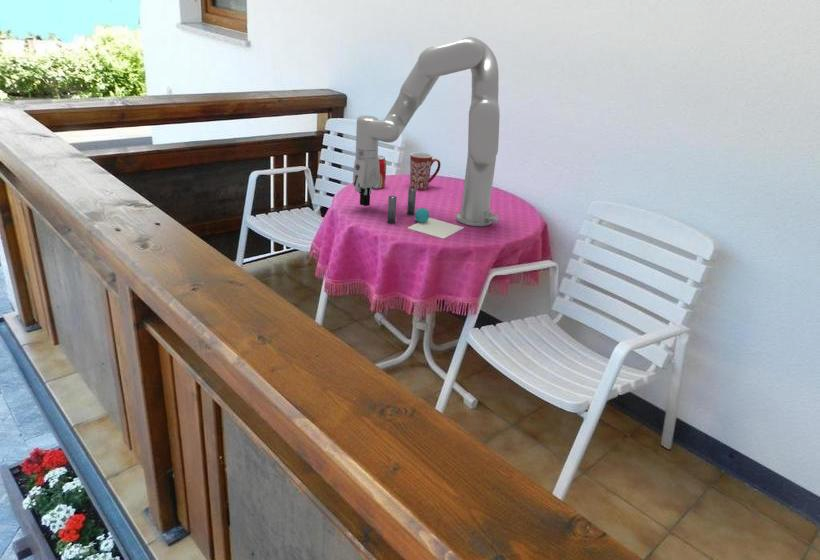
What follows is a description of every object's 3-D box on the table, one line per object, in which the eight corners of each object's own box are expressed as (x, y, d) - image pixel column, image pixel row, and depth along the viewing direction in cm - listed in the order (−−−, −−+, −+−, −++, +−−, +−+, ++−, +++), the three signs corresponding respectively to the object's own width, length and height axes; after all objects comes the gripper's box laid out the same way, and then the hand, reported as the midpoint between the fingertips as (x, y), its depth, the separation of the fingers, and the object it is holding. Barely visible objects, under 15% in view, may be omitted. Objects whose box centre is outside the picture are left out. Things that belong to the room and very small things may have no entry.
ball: (423, 203, 202) (416, 214, 205) (416, 206, 198) (409, 218, 201) (434, 212, 201) (427, 223, 204) (428, 216, 197) (420, 227, 200)
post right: (415, 214, 209) (417, 189, 205) (411, 215, 207) (413, 190, 203) (409, 212, 211) (411, 187, 207) (405, 214, 209) (407, 189, 205)
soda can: (384, 190, 233) (386, 160, 228) (366, 188, 233) (367, 158, 228) (385, 185, 239) (387, 155, 234) (368, 183, 239) (369, 154, 234)
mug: (410, 191, 234) (412, 157, 228) (405, 184, 242) (407, 151, 236) (441, 191, 237) (444, 157, 231) (435, 184, 245) (438, 152, 239)
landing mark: (464, 227, 200) (464, 227, 200) (443, 239, 189) (443, 238, 189) (428, 218, 206) (428, 217, 206) (406, 228, 196) (406, 227, 195)
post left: (396, 222, 200) (398, 196, 196) (392, 224, 198) (393, 198, 194) (390, 220, 201) (391, 195, 197) (385, 222, 199) (387, 196, 195)
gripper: (362, 159, 194) (360, 212, 202) (388, 152, 206) (385, 202, 214) (344, 155, 198) (343, 207, 206) (370, 148, 210) (368, 198, 217)
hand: (364, 204), depth 210 cm, fingers closed
